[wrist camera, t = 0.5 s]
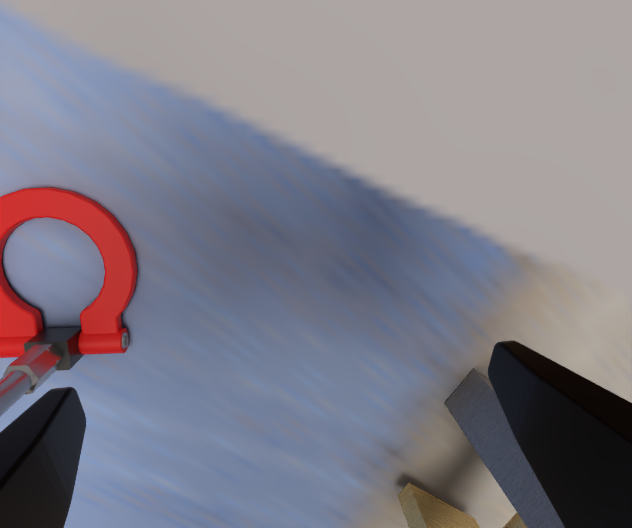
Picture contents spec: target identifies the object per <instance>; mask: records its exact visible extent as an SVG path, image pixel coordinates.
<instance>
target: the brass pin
mask: <svg viewBox="0 0 632 528" xmlns="http://www.w3.org/2000/svg"><path fill="white" fill-rule="evenodd" d="M398 498H399V501H400V503H401V506H402V509H403V512H404V514H405V517H406V520H407V523H408V526H409V528H480V527H479V526H478V524H477V522H476V520H475V519H474V518H473V517H471V516H469V515H467V514H465V513H463V512H462V511H460V510H458V509H456V508H454V507H452V506H451V505H449V504H447V503H445V502H443V501H441V500H440V499H438V498H436V497H434V496H432V495H430V494H429V493H427V492H425V491H423V490H421V489H419V488H418V487H416V486H414V485H412V484H410V483H408V484H407V485H406V487H405V488H404V489H403V490H402V491H401V492H400V494H399V495H398ZM503 528H527V526H526V525H525V523H524V522H523V520H522V519H521V517H520V516H519V514H518V513H516V514H515V515H514V516H513V517H512V518H511V519H510V520H509V522H508V523H507V524H506V525H505V526H504V527H503Z"/></svg>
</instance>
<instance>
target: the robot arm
mask: <svg viewBox="0 0 632 528" xmlns="http://www.w3.org/2000/svg"><path fill="white" fill-rule="evenodd" d="M488 376H489V380H490V382H491V384H492V387H493V389H494V391H495V394H496V396H497V398H498V401H499V403H500V405H501V407H502V410H503V412H504V414H505V417H506V419H507V421H508V424H509V426H510V428H511V430H512V433H513V435H514V437H515V439H516V441H517V443H518V445H519V447H520V448H521V450H522V452H523V454H524V456H525V457H526V459H527V461H528V463H529V465H530V466H531V468H532V470H533V472H534V473H535V475H536V477H537V479H538V481H539V482H540V484H541V486H542V488H543V490H544V491H545V493H546V495H547V497H548V498H549V500H550V502H551V504H552V506H553V507H554V509H555V511H556V513H557V515H558V516H559V518H560V520H561V522H562V523H563V525H564V527H565V528H632V403H630V402H629V401H627V400H625V399H623V398H621V397H619V396H617V395H616V394H614V393H612V392H610V391H608V390H606V389H604V388H602V387H601V386H599V385H597V384H595V383H593V382H591V381H589V380H588V379H586V378H584V377H582V376H580V375H578V374H576V373H574V372H573V371H571V370H569V369H567V368H565V367H563V366H561V365H559V364H558V363H556V362H554V361H552V360H550V359H548V358H546V357H545V356H543V355H541V354H539V353H537V352H535V351H533V350H531V349H530V348H528V347H526V346H524V345H522V344H520V343H518V342H516V341H503V342H498V343H496V345H495V346H494V349H493V353H492V356H491V360H490V364H489V367H488ZM85 428H86V417H85V413H84V410H83V408H82V405H81V402H80V399H79V396H78V394H77V391H76V390H75V389H74V388H73V387H65V388H56V389H51V390H49V391H48V392H47V393H45V394H44V395H43V396H42V397H41V398H40V399H39V400H37V401H36V402H35V403H34V404H33V405H32V406H30V407H29V408H28V409H27V410H26V411H25V412H23V413H22V414H21V415H20V416H19V417H18V418H17V419H15V420H14V421H13V422H12V423H11V424H10V425H8V426H7V427H6V428H5V429H4V430H3V431H1V432H0V528H64V525H65V521H66V518H67V515H68V511H69V508H70V504H71V500H72V495H73V491H74V485H75V480H76V475H77V470H78V465H79V459H80V454H81V449H82V444H83V438H84V433H85Z"/></svg>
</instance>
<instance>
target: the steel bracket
mask: <svg viewBox="0 0 632 528" xmlns="http://www.w3.org/2000/svg"><path fill="white" fill-rule="evenodd" d="M445 405H446V406H447V408H448V409H449V411H450V412H451V414H452V415H453V417H454V418H455V420H456V421H457V423H458V424H459V426H460V427H461V429H462V430H463V432H464V433H465V435H466V436H467V438H468V439H469V441H470V442H471V444H472V445H473V447H474V448H475V450H476V451H477V453H478V454H479V456H480V457H481V459H482V460H483V462H484V463H485V465H486V466H487V468H488V469H489V471H490V472H491V474H492V475H493V477H494V478H495V480H496V481H497V483H498V484H499V486H500V487H501V489H502V490H503V492H504V493H505V495H506V496H507V498H508V499H509V501H510V502H511V504H512V505H513V507H514V508H515V510H516V511H517V513H518V514H519V516H520V517H521V519H522V520H523V522H524V523H525V525H526V526H527V528H565V527H564V525H563V523H562V522H561V520H560V518H559V516H558V515H557V513H556V511H555V509H554V507H553V506H552V504H551V502H550V500H549V498H548V497H547V495H546V493H545V491H544V490H543V488H542V486H541V484H540V482H539V481H538V479H537V477H536V475H535V473H534V472H533V470H532V468H531V466H530V465H529V463H528V461H527V459H526V457H525V456H524V454H523V452H522V450H521V448H520V447H519V445H518V443H517V441H516V439H515V437H514V435H513V433H512V430H511V428H510V426H509V424H508V421H507V419H506V417H505V414H504V412H503V410H502V407H501V405H500V403H499V401H498V398H497V396H496V394H495V391H494V389H493V387H492V384H491V382H490V380H489V378H487V377H486V376H484V375H483V374H481V373H480V372H478V371H477V370H475V369H473V370H472V371H471V372H470V373H469V374H468V376H467V377H466V378H465V379H464V380H463V382H462V383H461V384H460V385H459V386H458V388H457V389H456V390H455V391H454V392H453V394H452V395H451V396H450V397H449V398H448V400H447V401H446V402H445Z"/></svg>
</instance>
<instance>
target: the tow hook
mask: <svg viewBox="0 0 632 528" xmlns="http://www.w3.org/2000/svg"><path fill="white" fill-rule="evenodd" d="M44 217H50V218H55V219H60V220H64V221H66V222H68V223H71V224H73V225H75V226H77V227H78V228H80V229H81V230H82V231H84V232H85V233H86V234H87V235H89V237H90V238H91V239H92V240H93V242H94V243H95V244H96V245H97V247H98V249H99V251H100V253H101V255H102V258H103V262H104V268H105V277H104V285H103V287H102V289H101V291H100V294H99V296H98V297H97V298H96V299H95V301H94V302H93V303H92V304H91V305H90V306H88V307H86V308H85V309H84V310H83V311H82V312H81V314H80V322H81V327H76V328H46V329H43V325H42V318H41V313H40V312H39V311H38V310H37V309H36V308H33V307H31V306H30V305H28V304H27V303H25V302H24V301H22V300H21V299H20V298H19V297H18V296H17V295H16V294H15V293H14V292H13V290H12V289H11V288H10V286H9V284H8V282H7V280H6V278H5V277H4V273H3V268H2V251H3V248H4V245H5V243H6V240H7V238H8V237H9V236H10V234H11V233H12V232H13V231H14V230H15V228H17V227H18V226H20V225H21V224H23V223H24V222H26V221H28V220H31V219H34V218H44ZM136 278H137V264H136V257H135V251H134V249H133V246H132V244H131V242H130V239H129V237H128V235H127V232H126V231H125V230H124V228H123V227H122V226H121V225H120V223H119V222H118V221H117V219H116V218H115V217H114V216H113V215H112V214H111V213H110V212H109V211H107V210H106V209H105V208H103V207H102V206H101V205H100V204H98V203H97V202H96V201H94V200H92V199H90V198H87V197H85V196H83V195H81V194H79V193H77V192H74V191H69V190H64V189H59V188H54V187H48V188H29V189H22V190H19V191H16V192H13V193H10V194H7V195H4V196H2V197H0V358H7V357H19V358H18V359H16V360H15V361H14V362H12V363H11V364H10V365H9V366H8V367H7V369H6V371H5V373H4V375H3V377H2V378H1V379H0V417H1V416H2V415H3V414H4V413H5V412H6V411H7V410H8V409H9V408H10V407H11V406H12V405H13V404H14V403H16V402H17V401H18V400H19V399H20V398H21V397H22V396H23V395H24V394H31V393H33V392H34V391H35V390H36V389H37V388H38V387H39V386H40V385H42V384H43V383H44V382H45V381H46V380H47V379H48V378H49V377H50V375H51V374H53V373H54V372H55V371H56V370H69V369H71V368H72V367H73V366H74V364H75V363H76V362H77V361H78V360H79V359H80V358H81V357H82V356H83V355H84V354H108V353H125V352H126V350H127V347H128V332H127V329H126V328H122V321H121V313H122V312H123V311H124V310H125V309H126V307H127V306H128V304H129V301H130V299H131V297H132V295H133V293H134V290H135V285H136Z"/></svg>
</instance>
